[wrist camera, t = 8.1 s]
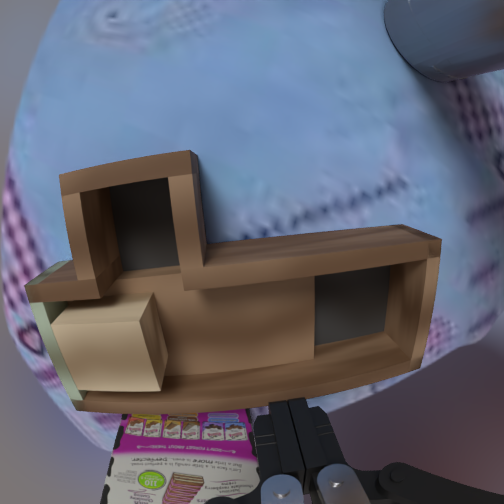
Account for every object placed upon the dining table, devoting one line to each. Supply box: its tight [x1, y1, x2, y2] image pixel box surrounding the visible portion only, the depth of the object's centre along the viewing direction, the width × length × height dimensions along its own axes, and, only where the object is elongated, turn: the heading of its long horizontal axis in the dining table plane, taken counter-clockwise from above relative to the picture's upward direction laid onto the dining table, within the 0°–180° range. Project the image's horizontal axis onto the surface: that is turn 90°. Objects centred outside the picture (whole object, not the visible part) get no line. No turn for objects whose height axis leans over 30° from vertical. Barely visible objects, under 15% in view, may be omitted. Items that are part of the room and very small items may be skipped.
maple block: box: [51, 292, 168, 392], centre depth 17 cm, size 5×6×4 cm
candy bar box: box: [100, 408, 260, 504], centre depth 17 cm, size 11×5×16 cm, turn 86°
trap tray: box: [24, 150, 442, 414], centre depth 19 cm, size 16×27×5 cm, turn 95°
